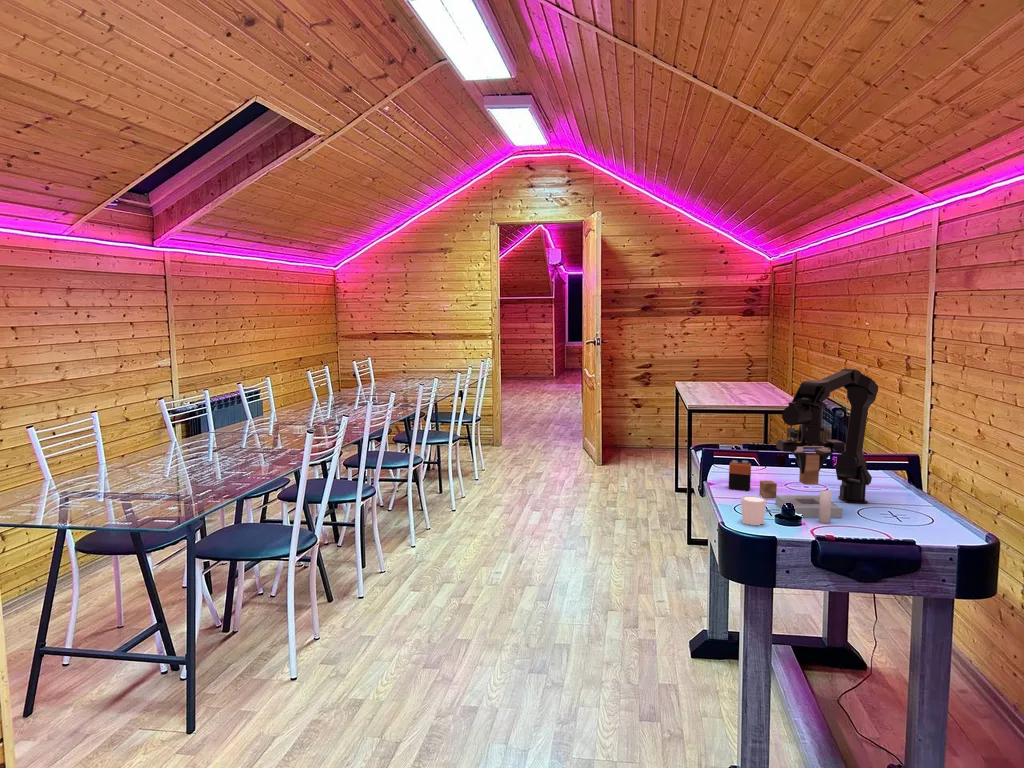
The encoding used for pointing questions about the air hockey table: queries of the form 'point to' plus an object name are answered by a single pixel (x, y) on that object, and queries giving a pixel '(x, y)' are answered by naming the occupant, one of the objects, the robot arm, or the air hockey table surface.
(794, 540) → the air hockey table surface
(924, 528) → the air hockey table surface
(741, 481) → the battery
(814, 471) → the brown rectangular block
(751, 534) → the air hockey table surface
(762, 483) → the short brown block
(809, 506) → the gauge block
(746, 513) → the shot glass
